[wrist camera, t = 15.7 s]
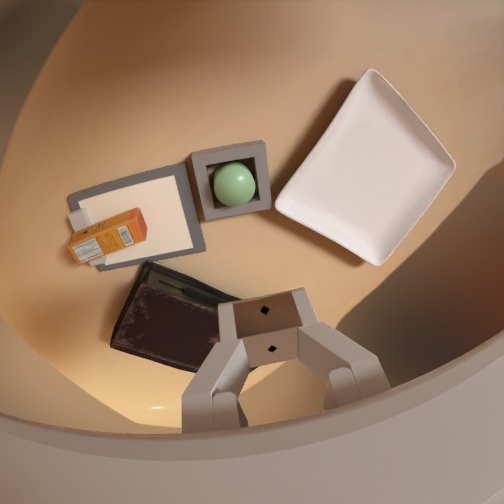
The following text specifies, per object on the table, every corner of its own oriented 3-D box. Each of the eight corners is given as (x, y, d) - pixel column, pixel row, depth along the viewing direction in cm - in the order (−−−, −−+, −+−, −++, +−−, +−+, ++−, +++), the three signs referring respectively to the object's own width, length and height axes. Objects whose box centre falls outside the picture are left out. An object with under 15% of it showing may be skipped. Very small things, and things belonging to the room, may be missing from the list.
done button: (248, 158, 31) (252, 165, 28) (253, 192, 33) (257, 202, 31) (210, 164, 31) (210, 172, 28) (217, 199, 33) (218, 209, 31)
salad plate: (264, 198, 35) (270, 210, 32) (357, 64, 26) (371, 63, 23) (370, 257, 43) (379, 270, 41) (444, 158, 35) (458, 165, 32)
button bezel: (261, 140, 30) (265, 143, 29) (268, 201, 35) (272, 208, 33) (192, 152, 30) (191, 156, 28) (205, 213, 34) (205, 220, 33)
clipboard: (185, 162, 30) (184, 167, 29) (206, 247, 37) (206, 256, 36) (68, 195, 30) (61, 201, 28) (100, 268, 37) (96, 277, 35)
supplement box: (148, 229, 33) (82, 252, 32) (139, 205, 31) (71, 230, 30) (147, 243, 31) (76, 266, 30) (137, 218, 29) (64, 244, 27)
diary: (232, 364, 54) (235, 385, 50) (113, 327, 43) (108, 351, 39) (291, 311, 46) (298, 335, 43) (149, 253, 36) (143, 279, 32)
